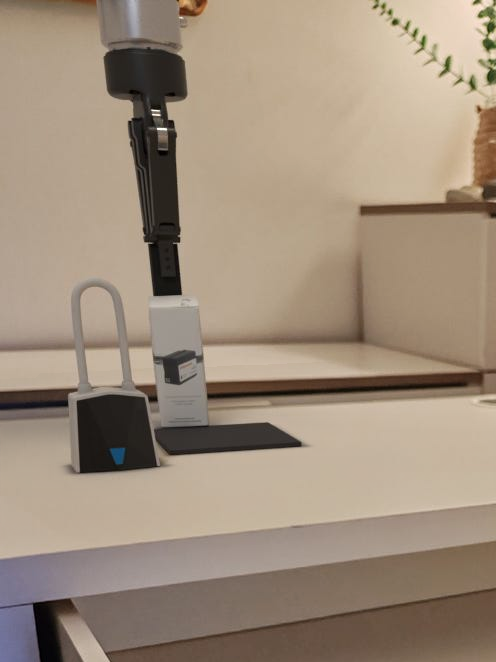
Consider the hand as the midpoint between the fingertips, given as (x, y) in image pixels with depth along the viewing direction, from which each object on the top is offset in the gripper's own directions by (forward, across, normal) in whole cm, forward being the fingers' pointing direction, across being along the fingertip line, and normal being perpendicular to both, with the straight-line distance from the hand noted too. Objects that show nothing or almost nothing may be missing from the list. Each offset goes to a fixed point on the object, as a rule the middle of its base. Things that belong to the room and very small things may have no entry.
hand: (169, 310), depth 107 cm
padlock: (+11, -24, +9) cm, 28 cm away
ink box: (+11, -4, 0) cm, 12 cm away
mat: (+11, -14, -2) cm, 18 cm away
